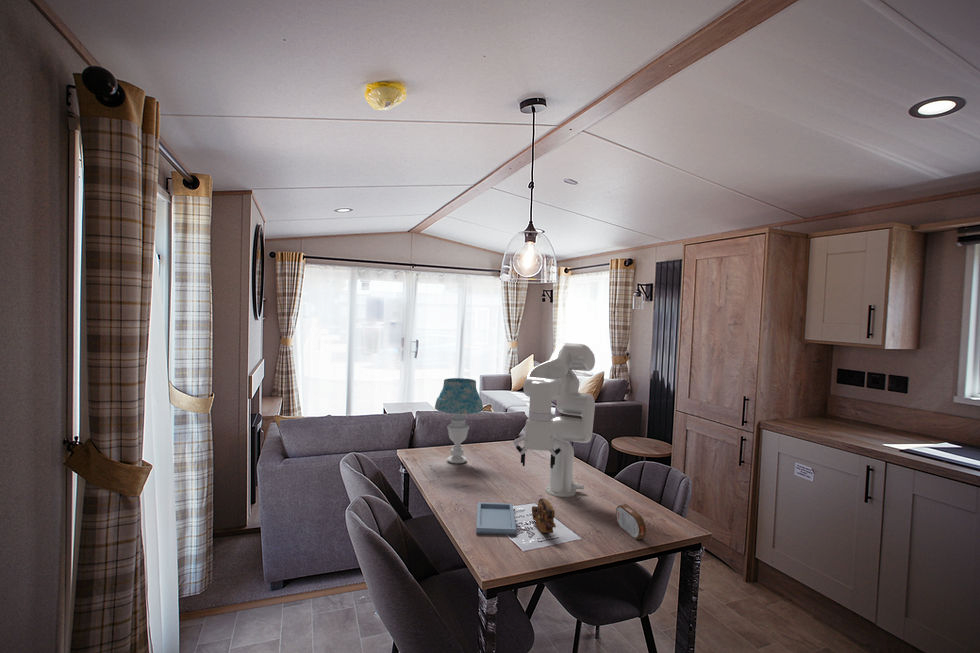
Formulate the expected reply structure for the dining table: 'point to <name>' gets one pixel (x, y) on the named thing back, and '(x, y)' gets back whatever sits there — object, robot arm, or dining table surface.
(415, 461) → the dining table surface
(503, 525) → the tray
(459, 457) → the table lamp
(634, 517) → the tin
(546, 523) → the wooden carving
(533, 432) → the robot arm
